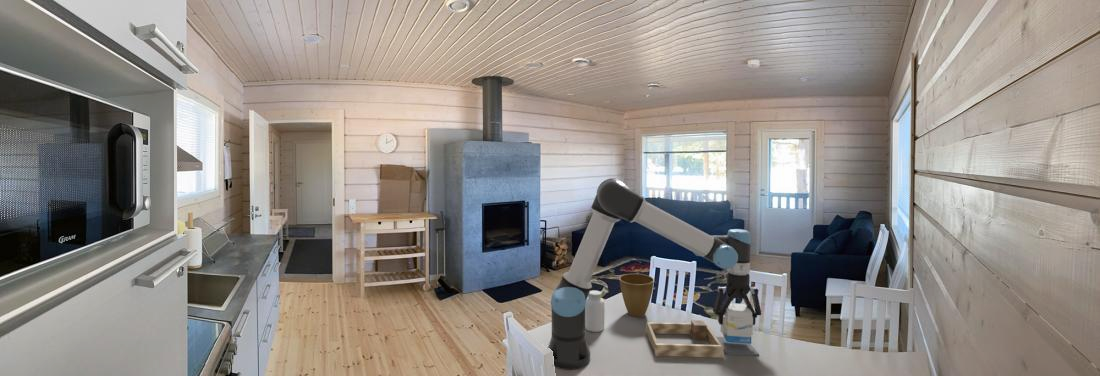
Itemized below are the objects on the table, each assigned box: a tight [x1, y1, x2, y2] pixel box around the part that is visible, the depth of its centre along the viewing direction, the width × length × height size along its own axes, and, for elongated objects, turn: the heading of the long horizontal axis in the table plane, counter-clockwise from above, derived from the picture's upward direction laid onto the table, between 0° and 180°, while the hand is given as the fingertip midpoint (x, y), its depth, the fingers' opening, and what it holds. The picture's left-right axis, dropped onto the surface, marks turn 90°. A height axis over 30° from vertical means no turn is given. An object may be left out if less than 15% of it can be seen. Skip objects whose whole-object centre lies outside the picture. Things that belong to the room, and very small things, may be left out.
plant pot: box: [619, 273, 655, 318], centre depth 179 cm, size 15×15×16 cm
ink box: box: [721, 302, 753, 345], centre depth 148 cm, size 9×8×12 cm
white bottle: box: [585, 289, 605, 333], centre depth 165 cm, size 8×8×15 cm
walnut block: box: [690, 319, 708, 342], centre depth 156 cm, size 4×4×6 cm
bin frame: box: [646, 321, 724, 359], centre depth 151 cm, size 23×19×4 cm
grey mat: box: [716, 336, 760, 357], centre depth 149 cm, size 11×13×1 cm
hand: (736, 332), depth 148 cm, fingers closed on ink box, 9 cm apart
